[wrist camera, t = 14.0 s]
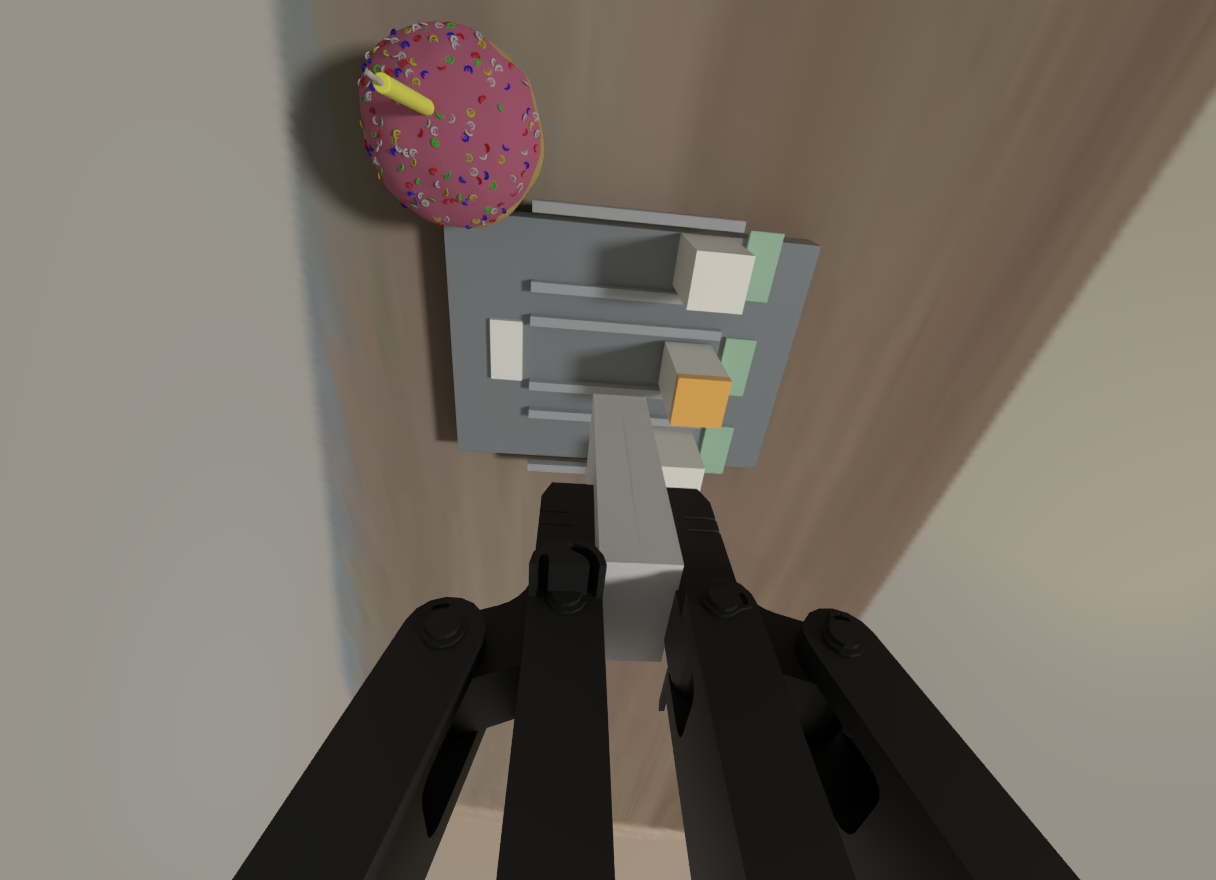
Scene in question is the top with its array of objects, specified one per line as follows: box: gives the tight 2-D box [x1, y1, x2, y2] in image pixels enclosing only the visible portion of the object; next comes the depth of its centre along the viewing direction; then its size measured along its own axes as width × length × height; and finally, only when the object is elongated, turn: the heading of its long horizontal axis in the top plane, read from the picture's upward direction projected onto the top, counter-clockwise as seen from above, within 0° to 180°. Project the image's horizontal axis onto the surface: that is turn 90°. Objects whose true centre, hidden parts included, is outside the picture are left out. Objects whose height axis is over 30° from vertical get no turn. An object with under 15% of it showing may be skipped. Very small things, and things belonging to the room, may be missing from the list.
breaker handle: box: [658, 341, 732, 429], centre depth 31 cm, size 3×3×6 cm
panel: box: [444, 199, 821, 491], centre depth 32 cm, size 18×22×7 cm
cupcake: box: [358, 21, 544, 229], centre depth 23 cm, size 9×8×12 cm
